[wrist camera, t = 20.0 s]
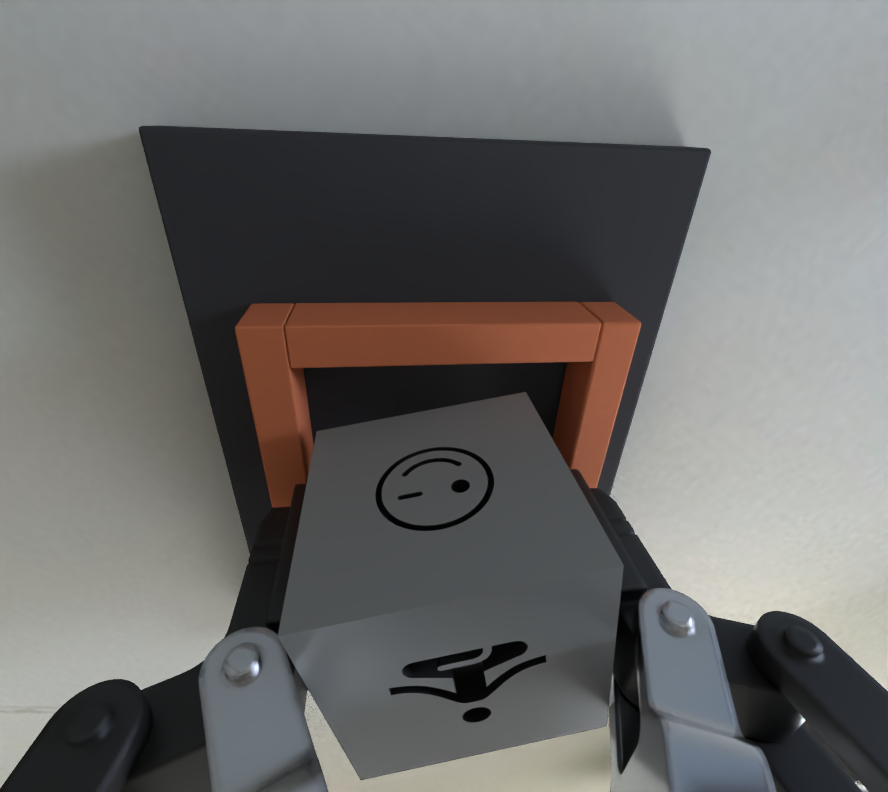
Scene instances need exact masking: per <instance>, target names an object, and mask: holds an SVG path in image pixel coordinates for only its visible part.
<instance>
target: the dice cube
mask: <svg viewBox="0 0 888 792" xmlns="http://www.w3.org/2000/svg"><path fill="white" fill-rule="evenodd" d="M623 568H624V565H623V563H622V561H621V559H620V558H619V556H618V554H617V552H616V551H615V549H614V547H613V545H612V544H611V542H610V540H609V538H608V536H607V535H606V533H605V531H604V529H603V528H602V526H601V524H600V522H599V521H598V519H597V517H596V515H595V513H594V512H593V510H592V508H591V506H590V505H589V503H588V501H587V499H586V498H585V496H584V494H583V492H582V490H581V489H580V487H579V485H578V483H577V482H576V480H575V478H574V476H573V475H572V473H571V471H570V469H569V467H568V466H567V464H566V462H565V460H564V459H563V457H562V455H561V453H560V452H559V450H558V448H557V446H556V444H555V443H554V441H553V439H552V437H551V436H550V434H549V432H548V430H547V429H546V427H545V425H544V423H543V421H542V420H541V418H540V416H539V414H538V413H537V411H536V409H535V407H534V405H533V404H532V402H531V400H530V398H529V397H528V395H527V393H526V392H522V393H517V394H512V395H506V396H501V397H496V398H490V399H485V400H480V401H474V402H469V403H464V404H458V405H453V406H448V407H443V408H437V409H432V410H427V411H421V412H416V413H411V414H405V415H400V416H395V417H389V418H384V419H379V420H374V421H368V422H363V423H358V424H352V425H347V426H342V427H336V428H331V429H326V430H320V431H317V432H316V437H315V443H314V448H313V453H312V458H311V464H310V469H309V474H308V479H307V485H306V490H305V495H304V500H303V506H302V511H301V516H300V521H299V527H298V532H297V537H296V542H295V548H294V553H293V558H292V563H291V569H290V574H289V579H288V584H287V590H286V595H285V600H284V605H283V611H282V616H281V621H280V626H279V632H278V638H279V640H280V641H281V643H282V645H283V647H284V648H285V650H286V652H287V654H288V655H289V657H290V659H291V661H292V662H293V664H294V666H295V667H296V669H297V671H298V673H299V674H300V676H301V678H302V680H303V681H304V683H305V685H306V686H307V688H308V690H309V692H310V693H311V695H312V697H313V699H314V700H315V702H316V704H317V705H318V707H319V709H320V711H321V712H322V714H323V716H324V718H325V719H326V721H327V723H328V725H329V726H330V728H331V730H332V731H333V733H334V735H335V737H336V738H337V740H338V742H339V744H340V745H341V747H342V749H343V750H344V752H345V754H346V756H347V757H348V759H349V761H350V763H351V764H352V766H353V768H354V769H355V771H356V773H357V775H358V776H359V778H360V780H365V779H369V778H374V777H378V776H383V775H387V774H392V773H396V772H401V771H406V770H410V769H415V768H419V767H424V766H428V765H433V764H437V763H442V762H446V761H451V760H456V759H460V758H465V757H469V756H474V755H478V754H483V753H487V752H492V751H497V750H501V749H506V748H510V747H515V746H519V745H524V744H528V743H533V742H538V741H542V740H547V739H551V738H556V737H560V736H565V735H569V734H574V733H579V732H583V731H588V730H592V729H597V728H601V727H606V726H607V718H608V709H609V699H610V690H611V681H612V671H613V662H614V652H615V643H616V634H617V624H618V615H619V606H620V596H621V587H622V577H623Z"/></svg>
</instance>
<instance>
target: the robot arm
mask: <svg viewBox="0 0 888 792" xmlns="http://www.w3.org/2000/svg"><path fill="white" fill-rule="evenodd" d="M570 471H571V473H572V475H573V476H574V478H575V480H576V482H577V483H578V485H579V487H580V489H581V490H582V492H583V494H584V496H585V498H586V499H587V501H588V503H589V505H590V506H591V508H592V510H593V512H594V513H595V515H596V517H597V519H598V521H599V522H600V524H601V526H602V528H603V529H604V531H605V533H606V535H607V536H608V538H609V540H610V542H611V544H612V545H613V547H614V549H615V551H616V552H617V554H618V556H619V558H620V559H621V561H622V563H623V565H624V568H623V577H622V587H621V596H620V606H619V615H618V624H617V634H616V643H615V652H614V662H613V671H612V681H611V690H610V699H609V721H610V752H611V787H610V792H862V791H861V789H860V788H859V787H858V786H857V785H856V784H855V783H854V781H853V780H852V779H851V778H850V777H849V776H848V775H847V774H846V772H845V771H844V770H843V769H842V768H841V767H840V766H839V764H838V763H837V762H836V761H835V760H834V759H833V758H832V757H831V755H830V754H829V753H828V752H827V751H826V750H825V749H824V748H823V746H822V745H821V744H820V743H819V742H818V741H817V740H816V738H815V737H814V736H813V735H812V734H811V733H810V732H809V731H808V729H807V728H806V727H805V726H804V725H803V722H804V721H805V720H806V721H807V723H808V724H809V725H810V726H811V727H812V728H813V729H814V730H815V732H816V733H817V734H818V735H819V736H820V737H821V738H822V739H823V740H824V742H825V743H826V744H827V745H828V746H829V747H830V748H831V749H832V751H833V752H834V753H835V754H836V755H837V756H838V757H839V758H840V760H841V761H842V762H843V763H844V764H845V765H846V766H847V767H848V768H849V770H850V771H851V772H852V773H853V774H854V775H855V776H856V777H857V779H858V780H859V781H860V782H861V783H862V784H863V785H864V786H865V788H866V789H867V790H868V791H869V792H888V691H887V690H886V689H884V688H883V687H882V686H881V685H880V684H879V683H878V682H877V681H876V680H875V679H874V678H873V677H871V676H870V675H869V674H868V673H867V672H866V671H865V670H864V669H863V668H862V667H861V666H860V665H858V664H857V663H856V662H855V661H854V660H853V659H852V658H851V657H850V656H849V655H848V654H847V653H845V652H844V651H843V650H842V649H841V648H840V647H839V646H838V645H837V644H836V643H835V642H834V641H833V640H831V639H830V638H829V637H828V636H827V635H826V634H825V633H824V632H822V631H821V630H820V629H819V628H817V627H816V626H815V625H813V624H812V623H810V622H808V621H807V620H805V619H803V618H801V617H799V616H796V615H793V614H790V613H786V612H780V611H772V612H767V613H765V614H763V615H762V616H761V617H760V619H759V620H758V622H757V623H756V625H750V624H745V623H740V622H735V621H731V620H726V619H721V618H717V617H713V616H710V615H708V614H707V613H706V611H705V610H704V609H703V608H702V607H701V606H700V605H699V604H698V603H697V602H696V601H694V600H693V599H691V598H690V597H688V596H686V595H685V594H683V593H680V592H678V591H675V590H672V589H671V587H670V586H669V585H668V583H667V581H666V580H665V578H664V577H663V575H662V574H661V572H660V571H659V569H658V567H657V566H656V564H655V563H654V561H653V560H652V558H651V556H650V555H649V553H648V552H647V550H646V549H645V547H644V545H643V544H642V542H641V541H640V539H639V538H638V536H637V535H635V533H634V530H633V528H632V527H631V525H630V524H629V522H628V521H626V517H625V516H624V514H623V513H622V511H621V509H620V508H619V506H618V505H617V503H616V502H615V501H614V500H613V499H612V498H611V497H609V496H608V495H607V494H606V493H605V492H603V491H602V490H601V489H600V488H589V486H588V485H587V483H586V481H585V480H584V478H583V476H582V474H581V473H580V471H579V470H577V469H570ZM306 485H307V484H296V485H295V488H294V492H293V497H292V501H291V506H290V507H275V508H272V509H271V510H270V512H269V513H268V514H267V515H266V516H265V518H264V519H263V520H262V521H261V523H260V524H259V525H258V529H257V532H256V536H255V539H254V543H253V548H252V550H251V553H250V557H249V560H248V561H249V563H248V564H247V567H246V571H245V574H244V577H243V581H242V584H241V588H240V591H239V595H238V598H237V602H236V605H235V609H234V612H233V616H232V619H231V623H230V626H229V629H228V631H227V633H226V635H225V637H224V639H222V640H221V641H220V642H219V643H218V644H216V645H215V647H214V648H213V649H212V650H211V651H210V652H209V654H208V655H207V657H206V658H205V660H204V661H203V662H201V663H200V664H199V665H197V666H195V667H194V668H192V669H190V670H188V671H186V672H184V673H182V674H180V675H177V676H175V677H172V678H170V679H167V680H165V681H163V682H160V683H158V684H155V685H153V686H150V687H148V688H145V689H143V690H140V689H139V687H138V686H137V685H135V684H134V683H132V682H130V681H128V680H123V679H113V680H107V681H104V682H100V683H97V684H95V685H93V686H90V687H88V688H86V689H85V690H83V691H81V692H79V693H78V694H77V695H75V696H74V697H72V698H71V699H70V700H69V701H67V702H66V703H65V704H64V705H63V706H62V707H61V708H60V709H59V710H58V711H57V712H56V713H55V714H54V715H53V716H52V718H51V719H50V720H49V721H48V723H47V724H46V725H45V727H44V728H43V730H42V731H41V732H40V734H39V735H38V737H37V738H36V739H35V741H34V742H33V744H32V745H31V746H30V748H29V749H28V750H27V752H26V753H25V755H24V756H23V757H22V759H21V760H20V762H19V763H18V764H17V766H16V767H15V769H14V770H13V771H12V773H11V774H10V776H9V777H8V778H7V780H6V781H5V783H4V784H3V785H2V787H1V788H0V792H328V789H327V785H326V782H325V779H324V776H323V772H322V769H321V766H320V763H319V760H318V758H317V755H316V752H315V749H314V746H313V742H312V739H311V736H310V732H309V729H308V725H307V722H306V719H305V715H304V712H305V703H306V695H307V690H308V688H307V686H306V685H305V683H304V681H303V680H302V678H301V676H300V674H299V673H298V671H297V669H296V667H295V666H294V664H293V662H292V661H291V659H290V657H289V655H288V654H287V652H286V650H285V648H284V647H283V645H282V643H281V641H280V640H279V638H278V632H279V626H280V621H281V616H282V611H283V605H284V600H285V595H286V590H287V584H288V579H289V574H290V569H291V563H292V558H293V553H294V548H295V542H296V537H297V532H298V527H299V521H300V516H301V511H302V506H303V500H304V495H305V490H306Z"/></svg>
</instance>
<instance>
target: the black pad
mask: <svg viewBox="0 0 888 792" xmlns="http://www.w3.org/2000/svg"><path fill="white" fill-rule="evenodd" d="M139 133H140V137H141V141H142V145H143V148H144V152H145V156H146V160H147V164H148V167H149V171H150V175H151V179H152V183H153V186H154V190H155V194H156V198H157V202H158V205H159V209H160V213H161V217H162V221H163V225H164V228H165V232H166V236H167V240H168V244H169V247H170V251H171V255H172V259H173V263H174V266H175V270H176V274H177V278H178V282H179V285H180V289H181V293H182V297H183V301H184V305H185V308H186V312H187V316H188V320H189V324H190V327H191V331H192V335H193V339H194V343H195V346H196V350H197V354H198V358H199V362H200V366H201V369H202V373H203V377H204V381H205V385H206V388H207V392H208V396H209V400H210V404H211V407H212V411H213V415H214V419H215V423H216V426H217V430H218V434H219V438H220V442H221V446H222V449H223V453H224V457H225V461H226V465H227V468H228V472H229V476H230V480H231V484H232V487H233V491H234V495H235V499H236V503H237V506H238V510H239V514H240V518H241V522H242V526H243V529H244V533H245V537H246V541H247V545H248V548H249V552H250V553H251V550H252V548H253V543H254V539H255V536H256V532H257V529H258V525H259V524H260V523H261V521H262V520H263V519H264V518H265V516H266V515H267V514H268V513H269V512H270V510H271V509H272V508H275V507H290V506H291V501H292V497H293V492H294V488H295V485H296V484H307V479H308V474H309V469H310V464H311V458H312V453H313V448H314V443H315V437H316V432H317V431H320V430H326V429H331V428H336V427H342V426H347V425H352V424H358V423H363V422H368V421H374V420H379V419H384V418H389V417H395V416H400V415H405V414H411V413H416V412H421V411H427V410H432V409H437V408H443V407H448V406H453V405H458V404H464V403H469V402H474V401H480V400H485V399H490V398H496V397H501V396H506V395H512V394H517V393H522V392H526V393H527V395H528V397H529V398H530V400H531V402H532V404H533V405H534V407H535V409H536V411H537V413H538V414H539V416H540V418H541V420H542V421H543V423H544V425H545V427H546V429H547V430H548V432H549V434H550V436H551V437H552V439H553V441H554V443H555V444H556V446H557V448H558V450H559V452H560V453H561V455H562V457H563V459H564V460H565V462H566V464H567V466H568V467H569V469H577V470H579V471H580V473H581V474H582V476H583V478H584V480H585V481H586V483H587V485H588V486H589V488H600V489H601V490H602V491H603V492H605V493H606V494H607V495H608V496H610V492H611V489H612V486H613V482H614V479H615V475H616V472H617V469H618V465H619V462H620V458H621V455H622V452H623V448H624V445H625V442H626V438H627V435H628V431H629V428H630V425H631V421H632V418H633V415H634V411H635V408H636V404H637V401H638V398H639V394H640V391H641V387H642V384H643V381H644V377H645V374H646V371H647V367H648V364H649V360H650V357H651V354H652V350H653V347H654V344H655V340H656V337H657V333H658V330H659V327H660V323H661V320H662V316H663V313H664V310H665V306H666V303H667V300H668V296H669V293H670V289H671V286H672V283H673V279H674V276H675V273H676V269H677V266H678V262H679V259H680V256H681V252H682V249H683V245H684V242H685V239H686V235H687V232H688V229H689V225H690V222H691V218H692V215H693V212H694V208H695V205H696V201H697V198H698V195H699V191H700V188H701V185H702V181H703V178H704V174H705V171H706V168H707V164H708V161H709V158H710V154H711V150H709V149H708V148H695V147H676V146H652V145H627V144H602V143H577V142H552V141H527V140H502V139H477V138H452V137H427V136H402V135H377V134H352V133H327V132H302V131H277V130H252V129H227V128H202V127H177V126H141V127H139Z"/></svg>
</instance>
